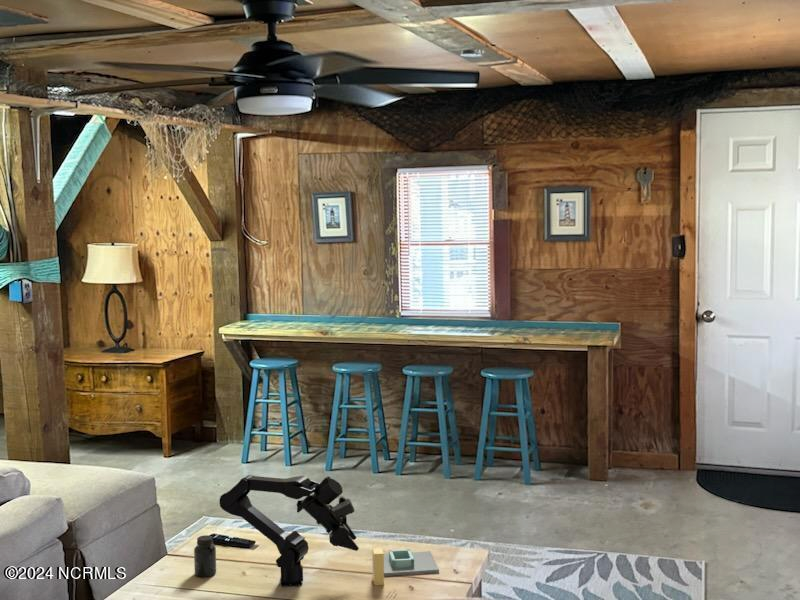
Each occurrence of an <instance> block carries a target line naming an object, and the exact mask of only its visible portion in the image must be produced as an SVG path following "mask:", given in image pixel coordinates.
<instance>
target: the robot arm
mask: <svg viewBox="0 0 800 600" xmlns="http://www.w3.org/2000/svg"><path fill="white" fill-rule="evenodd" d="M251 491H255V492H266V493H275V494H276V493H277V494H280V495H284V496H285V497H286V498H290V499H293V500H297V503H296V512H297V513H300V512H301V511H303V510H304V512H306V513H307V514H308V515H310V517H312V519H314V520H315V522H316V524H317V525H319V526H320V525H321V527H322V528H324V529H325V531H326V533H327V534H329V536H328V537H329V539H328V540H329V543H330V544H331V545H332V546H333V547H341V548H344V549H349V550H352V551H355V552H357V551H358V550H359V548H360V547H359V546H358V545H357V543H356V542H355V540H356V539H357V535H355V533H354V531H353V530H352V529H351V527H350V525H349V524H348V522H347V516H348V515H350V514H354V513H355V507H354V505H353V503H352V500H351V499H350V498H346V497H345V496H342V493H343V487H342V485H341V483H340V482H339V481H337V480H336V479H334V478H332V477H330V475H328V476H326V477H324V479H322V480H321V482H317V481H315V480H311V479H309V477H308V476H305V475H300V476H292V477H288V478H279V477H270V476H269V477H267V476H257V475H253V474H248V475H246V476H243V477H242V478H241V479H240V480H239V481H238V482H237V483H236V484H235V485H234V486H233V487H232V488H231V489H230V490H228V491H226V492H225V493H223V494H222V495H220V496H219V507H220V509H222V510H223V511H224V512H226V513H227V514H229V515H232V516H236V517H239V518H241V519H243V520H244V521H245V522H247V523H248V524H249V525H250V526H252V527H253V528H255V530H257V531H258V532H260V533H261V534H262V535H263V536H265V537H266V538H267V539H268V540H270V541H271V542H272V543H273V544H274V545H275V546H276V548H277V550H278V553H279V554H280V556H279V557H277V559H276V560H275V562H276V566H277V567H278V568H280V587H293V586H295V587H296V586H302V584H303V583H302V582H303V581H304V567H303V565H302V564H301V563H302V562H301V561H303V560H304V558H305V556H306V555H307V554H308V553H309V543H308V541H307V540H306V537H305V536H302V535H301V534H300V533H299V532H298V531H297V530H293V531H292V532H288V531H286V530H284V529H283V528H282V527H280V526H279V525H278V524H276V523H275V522H274V521H272V520H271V518H269V517H267V516H266V515H265V514H264V513H263V512H262V511H260V510H259V509H258V508H256V506H253V504H252V502H251V500H250V498H249V496H248V495H249V494H250V492H251ZM303 497H305V498H303ZM338 497H339V498H338ZM302 498H303V499H302ZM300 499H302V500H300ZM336 499H338V503H336V505H334V506H333V505H332V504H331V503H333V501H335V500H336Z"/></svg>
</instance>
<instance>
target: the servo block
mask: <svg viewBox="0 0 800 600" xmlns="http://www.w3.org/2000/svg"><path fill="white" fill-rule="evenodd" d="M371 550H372V551H371V554H372V556H371V557H372V561H371V563H372V564H371V565H372V581H373V585H374V586H384V585H385V576H384V554H385V553H384V551H383V547H375V548H374V547H373V548H372V549H371Z"/></svg>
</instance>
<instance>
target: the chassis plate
mask: <svg viewBox="0 0 800 600" xmlns="http://www.w3.org/2000/svg"><path fill="white" fill-rule="evenodd" d="M425 573H426V574H435V573H436V574H439V573H440V569H439V567H438V564H437V562H436V560H435V558H434V556H433V554H432V552H431V550H427V551H413V552H412V551H411V548H407V549H406V548H405V549H392V550H391V549H389V550H388V553H384V577H391V576H392V577H393V576H406V575H407V576H408V575H424V574H425Z"/></svg>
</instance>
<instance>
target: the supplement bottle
mask: <svg viewBox="0 0 800 600" xmlns="http://www.w3.org/2000/svg"><path fill="white" fill-rule="evenodd" d="M213 543H214V541H213V536H211V535H208V534H207V535H200V536H198V537H196V546H195V547H194V549H193V550H194V551H193V552H194V554H193V556H194V557H193V559H194V560H193V561H194V562H193V563H194V565H193V567H194V575H195V576H196V577H197V578H202V579H205V578H206V577H207V578H211V577H213V576H215V575H216V574H217V548H216V546H215V545H214V544H213ZM207 578H206V579H207Z"/></svg>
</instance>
